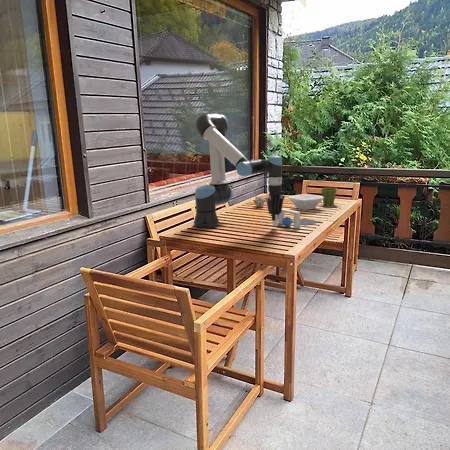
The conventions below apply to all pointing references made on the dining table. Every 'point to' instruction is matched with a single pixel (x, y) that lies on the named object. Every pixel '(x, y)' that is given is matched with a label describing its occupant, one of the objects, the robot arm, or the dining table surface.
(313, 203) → the bowl
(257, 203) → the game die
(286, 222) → the ball
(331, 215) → the dining table surface
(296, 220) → the bridge
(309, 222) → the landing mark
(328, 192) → the plant pot
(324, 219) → the dining table surface
